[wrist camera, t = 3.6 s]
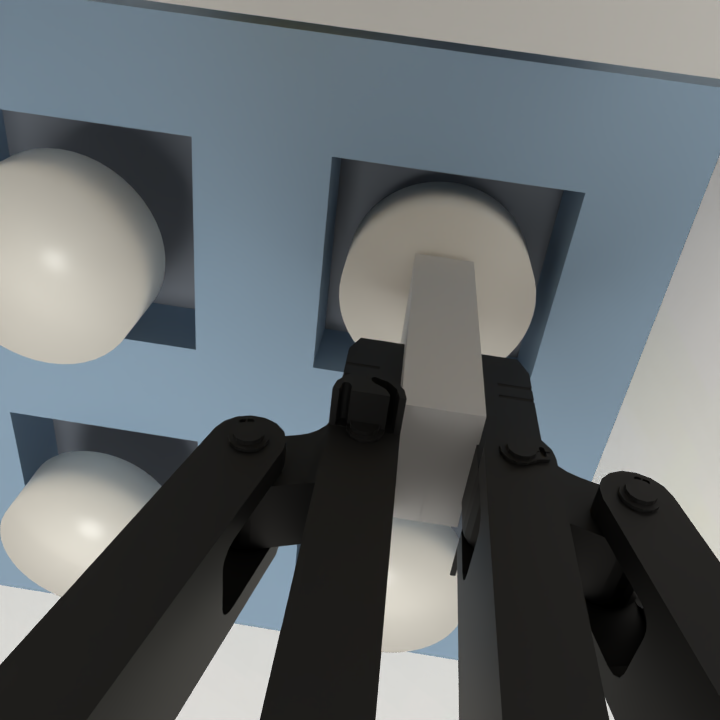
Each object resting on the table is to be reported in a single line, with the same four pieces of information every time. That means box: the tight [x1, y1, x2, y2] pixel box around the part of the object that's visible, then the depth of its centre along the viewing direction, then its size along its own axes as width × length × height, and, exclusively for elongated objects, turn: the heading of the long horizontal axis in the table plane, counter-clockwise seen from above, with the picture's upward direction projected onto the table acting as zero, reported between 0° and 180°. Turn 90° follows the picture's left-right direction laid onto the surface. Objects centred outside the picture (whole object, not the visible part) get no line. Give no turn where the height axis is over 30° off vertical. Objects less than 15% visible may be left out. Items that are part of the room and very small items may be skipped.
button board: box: [0, 0, 720, 660], centre depth 23 cm, size 22×22×3 cm
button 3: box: [0, 148, 165, 364], centre depth 18 cm, size 5×5×3 cm
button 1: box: [0, 451, 162, 597], centre depth 24 cm, size 5×5×3 cm
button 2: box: [381, 517, 459, 653], centre depth 23 cm, size 5×5×3 cm
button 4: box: [339, 181, 536, 358], centre depth 20 cm, size 5×5×3 cm
